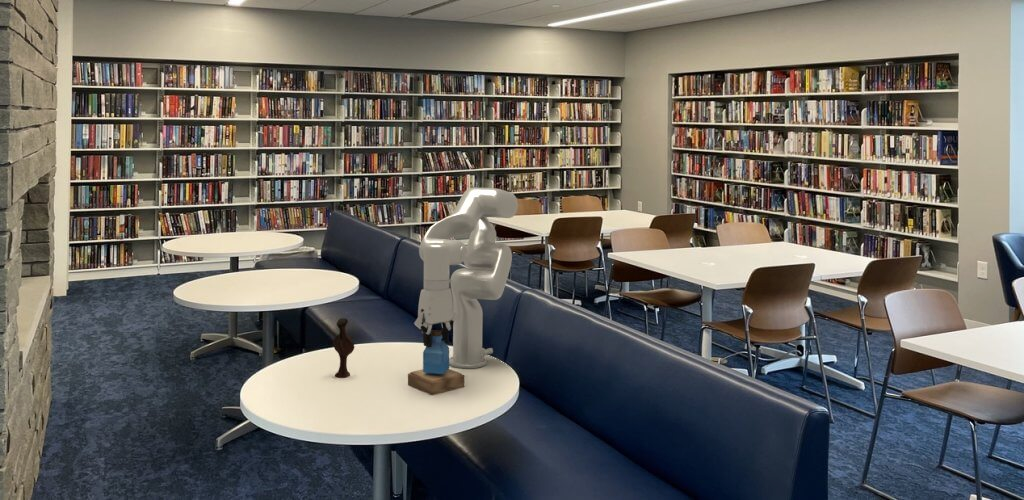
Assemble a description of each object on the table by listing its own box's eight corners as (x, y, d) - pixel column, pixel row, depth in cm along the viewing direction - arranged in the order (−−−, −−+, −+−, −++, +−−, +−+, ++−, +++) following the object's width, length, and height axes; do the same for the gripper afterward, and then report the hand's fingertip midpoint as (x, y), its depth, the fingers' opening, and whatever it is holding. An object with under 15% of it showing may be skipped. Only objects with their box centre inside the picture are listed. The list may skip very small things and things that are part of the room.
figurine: (358, 374, 245) (357, 318, 242) (349, 379, 240) (349, 322, 238) (338, 372, 248) (337, 316, 245) (329, 376, 243) (328, 319, 240)
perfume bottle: (443, 374, 232) (443, 334, 230) (423, 372, 233) (423, 333, 231) (449, 368, 238) (449, 329, 236) (429, 366, 239) (429, 328, 237)
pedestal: (439, 377, 244) (439, 364, 244) (464, 386, 236) (464, 373, 235) (407, 385, 236) (407, 372, 236) (432, 395, 228) (432, 381, 227)
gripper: (451, 279, 240) (451, 337, 243) (404, 286, 228) (405, 346, 231) (467, 283, 234) (466, 342, 237) (420, 290, 223) (420, 352, 226)
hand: (436, 344), depth 234 cm, fingers closed on perfume bottle, 5 cm apart
